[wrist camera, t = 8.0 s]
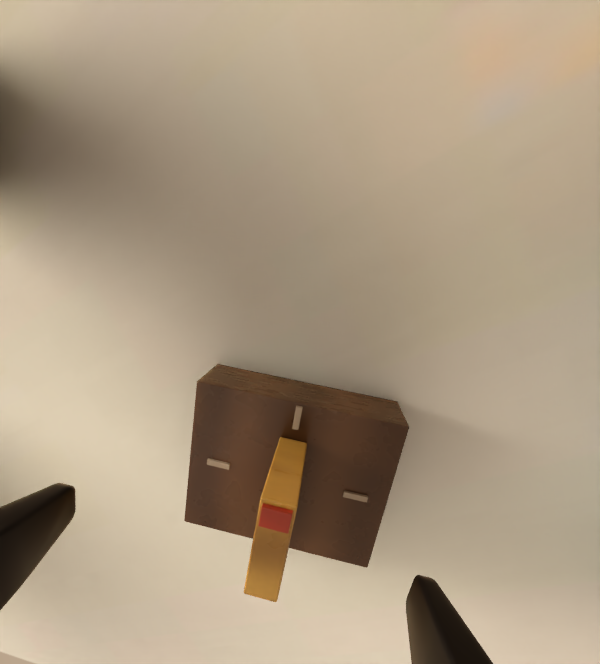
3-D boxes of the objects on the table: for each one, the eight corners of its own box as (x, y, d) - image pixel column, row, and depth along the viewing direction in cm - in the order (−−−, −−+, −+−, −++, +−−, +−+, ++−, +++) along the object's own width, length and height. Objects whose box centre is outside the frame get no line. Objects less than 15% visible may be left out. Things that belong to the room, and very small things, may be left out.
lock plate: (204, 487, 22) (182, 523, 18) (217, 363, 19) (195, 382, 16) (362, 525, 21) (367, 570, 18) (397, 401, 18) (410, 428, 15)
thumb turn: (291, 519, 18) (275, 609, 13) (265, 513, 18) (241, 600, 13) (307, 442, 16) (296, 511, 12) (280, 436, 16) (258, 502, 12)
